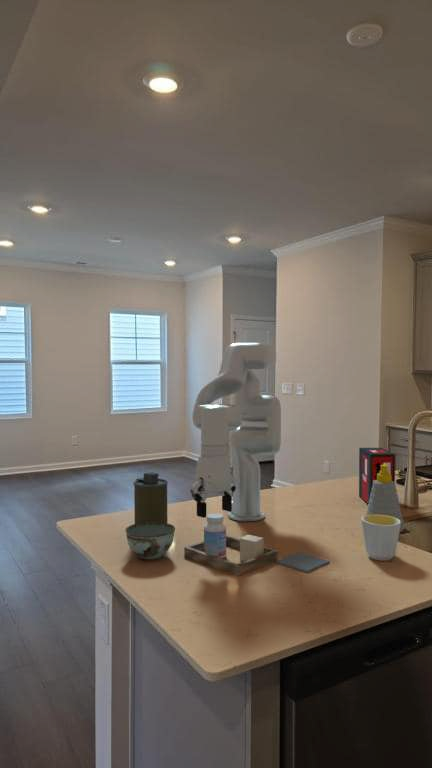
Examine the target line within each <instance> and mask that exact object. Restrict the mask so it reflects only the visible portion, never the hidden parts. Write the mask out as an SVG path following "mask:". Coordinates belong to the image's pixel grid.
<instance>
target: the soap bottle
mask: <svg viewBox="0 0 432 768" xmlns="http://www.w3.org/2000/svg"><path fill="white" fill-rule="evenodd" d="M380 466H381V471H379V473H378V474H377V480H375V481H374V482H373V487H372V490H371V494H370V499H369V504H368V505H367V510H366V515H386V516H391V517H395V518H397V519H399V520H400V521H401V525H400V531H399V533H401V532H403V531H404V530H405V525H404V520H403V516H402V511H401V506H400V501H399V495H398V491H397V490H398V489H397V487H396V486H397V485H396V483H394V482H393V481H391V474H389V472H388V465H386V463H384V464H383V465H380Z"/></svg>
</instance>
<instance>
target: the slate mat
mask: <svg viewBox="0 0 432 768" xmlns="http://www.w3.org/2000/svg"><path fill="white" fill-rule="evenodd" d="M275 563H276V564H279V565H282V566H285V567H289V568H291V569H294V570H298V571H301V572H303V573H308V574H309V573H310V572H312V571H314V570H316V569H319V568H320V567H323V566H326V565H327V564H329V563H330V560H328V559H325V558H320V557H319V556H314V555H311V554H308V553H305V552H301V551H297V552H295V553H292V554H290V555H287V556H285V557H282V558H280V559H278V560H276V561H275Z"/></svg>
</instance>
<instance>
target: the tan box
mask: <svg viewBox="0 0 432 768" xmlns="http://www.w3.org/2000/svg"><path fill="white" fill-rule="evenodd" d="M239 539H240V549H239V561H242V562H244V561H247V560H249V559H252V558H255V557H257V556H260V555H263V554H264V547H265V546H264V537H261V536H256V535H251V534H246V535H244V536H242V537H240V538H239Z"/></svg>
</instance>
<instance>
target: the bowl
mask: <svg viewBox="0 0 432 768" xmlns="http://www.w3.org/2000/svg"><path fill="white" fill-rule="evenodd" d="M124 530H125V533H126V540H127V545H128V546H129V548H130V550H131V551H132V552H133V553H134V554H135V555H137V556H138V558H139V559H140V560H141V561H144V562H153V561H154V562H155V561H158V560H160V559H161V558H162V557H163V555H164V554H165V553H167V552H168V550H170V548H171V547H172V544H173V542H174V537H175V531H176V526H174V524H171V523H169V522H167V523H163V522H144V523H137V524H135V523H134V524H131V525H129V526H127V527H126V528H125V529H124Z"/></svg>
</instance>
